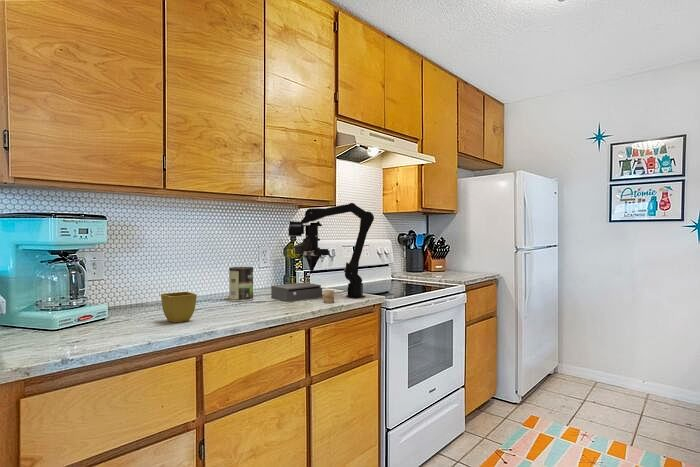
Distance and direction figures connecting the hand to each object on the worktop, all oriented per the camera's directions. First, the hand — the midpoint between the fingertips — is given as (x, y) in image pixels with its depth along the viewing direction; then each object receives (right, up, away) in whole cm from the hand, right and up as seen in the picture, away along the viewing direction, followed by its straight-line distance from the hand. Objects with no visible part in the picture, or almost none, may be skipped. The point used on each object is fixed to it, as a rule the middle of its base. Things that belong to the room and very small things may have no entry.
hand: (311, 270), depth 181 cm
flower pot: (-39, -12, -49) cm, 64 cm away
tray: (-6, -12, -2) cm, 14 cm away
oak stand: (+9, -12, -14) cm, 20 cm away
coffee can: (-30, -12, -7) cm, 33 cm away
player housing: (-6, -12, -2) cm, 14 cm away
